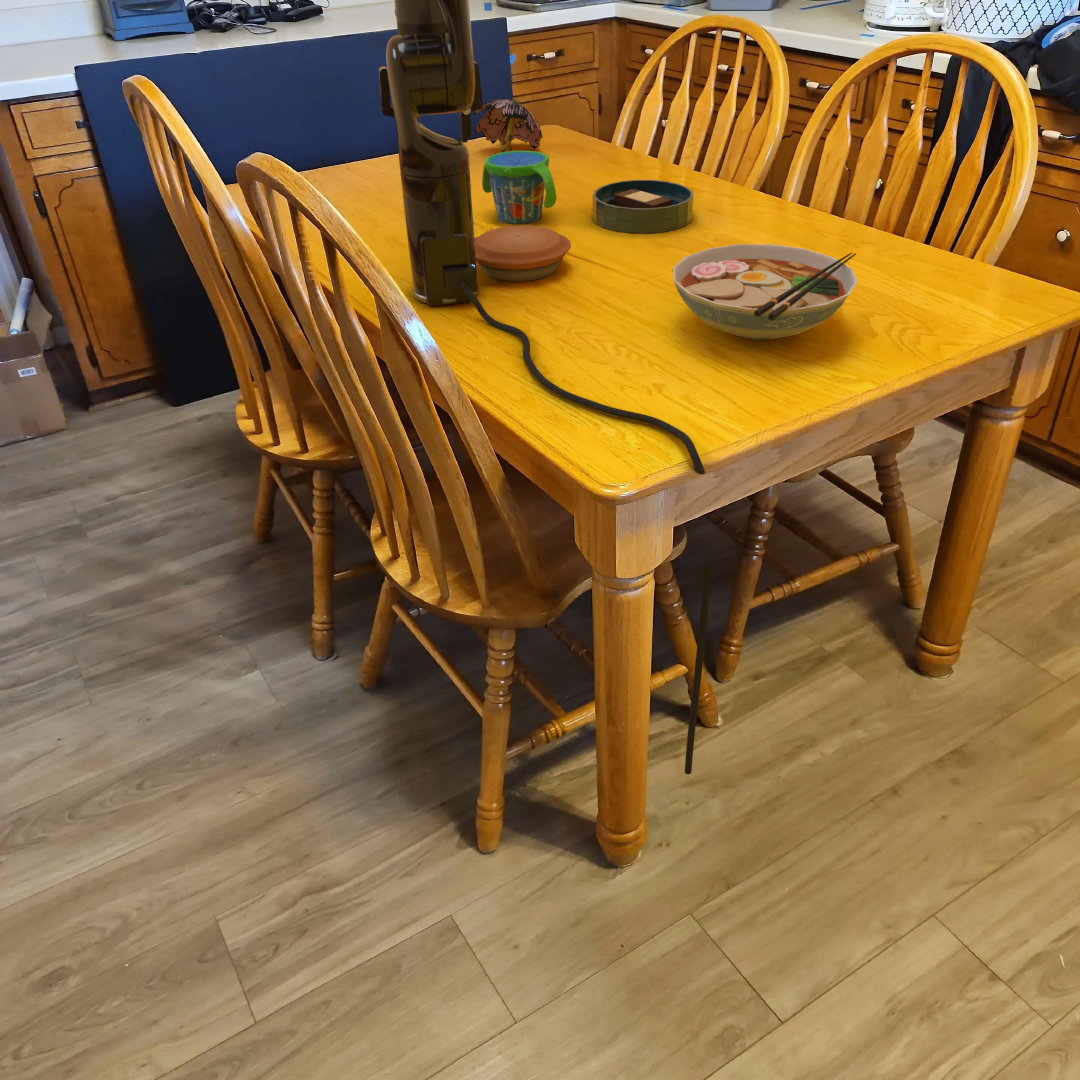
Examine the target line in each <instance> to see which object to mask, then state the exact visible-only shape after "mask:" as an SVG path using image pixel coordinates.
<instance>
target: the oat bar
mask: <svg viewBox="0 0 1080 1080" xmlns="http://www.w3.org/2000/svg"><path fill="white" fill-rule="evenodd" d="M671 204H672V200H671V199H668V198H664V197H661V196H657V195H654V194H650V193H646V192H643V191H639V190H635V189H631V190H627V191H624V192H621V193H617V194H615V197H614V206H618V207H626V208H659V207H667V206H671Z"/></svg>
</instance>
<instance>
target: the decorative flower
mask: <svg viewBox="0 0 1080 1080" xmlns="http://www.w3.org/2000/svg"><path fill="white" fill-rule="evenodd" d="M487 110H488V111H487ZM483 111H487V112H485V113H484V114H483V116H482V117H480V120H479V122H478V123H477V125H476V127H475V128H474V133H475V134H478V133H479V132H481V134H483V138H486V139H485V140H486V141H490V143H491V144H492V145H494V144H496V142H497V141H499V143H500V145H502V146H501V147H500V148H499V149H500V150H499V151H500V152H499V153H501V152H506V151H507V152H508V151H513V147H512V146H510V145H511V144H512V142H513V140H515V139H517V140H521V141H520V142H524V143H525V144H526V143H529V145H530V147H531V149H532V150H533V151H535V150H536V149H537V148H539V147H540V146H541V139H543V138H544V137H543V133H542V130H541V127H540V124H539V122H538V120H537V118H536V117H535V116H534V115H533V113H532V112H531V111H529V110H528V109H527V108H526V107H524V105H522V103H521V102H520V100H518V99H515V98H512V99H507V98H494V99H490V100H488V101H486V102H483V107H482V108H481V109H477V110H475V111H474V113H473V116H474V115H477V114H479V113H482V112H483Z"/></svg>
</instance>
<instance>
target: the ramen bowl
mask: <svg viewBox="0 0 1080 1080" xmlns="http://www.w3.org/2000/svg"><path fill="white" fill-rule="evenodd" d="M856 255H857V253H853V252H849V253H848V254H846V255H845V256H843V257H841V258H839V259H837V258H836V257H833V256H830V255H827V254H824V253H821V252H818V251H814V250H811V249H808V248H802V247H795V246H788V245H781V244H780V245H779V244H767V243H766V244H765V243H763V244H762V243H760V244H759V243H757V244H752V243H750V244H749V243H747V244H746V243H737V244H729V245H725V246H717V247H709V248H706V249H703V250H701V251H697V252H694V253H692V254H689V255H685V256H684V257H683V258H682V259H680V261H679V262H678V263H676V264H675V265H674V266H673V267H672V279H673V280H672V281H673V284H674V285H675V288H676V290H677V293H678V294H679V296H680V297H681V299H682V300H683V303H684V304H685V305H686V306H687V307H688V309H689V310H690V311H691V312H692V313H693V314H694V315H695V316H696V317H698V318H699V319H700V320H701V321H702V322H704V323H705V324H706V325H708V326H709V327H711V328H714V329H716V330H718V331H721V332H723V333H726V334H729V335H732V336H736V337H739V338H742V339H745V340H750V341H770V340H777V339H781V338H786V337H791V336H797V335H800V334H803V333H805V332H806V331H809V330H811V329H814V328H815V327H818V326H820V325H823V324H824V323H826V322H827V320H829V319H831V317H832V316H834V315H835V314H836V313H837V312H838V310H839V309H840V308H841V307H842V306H843V305H844V303H845V301H846V300H847V299H848V297H849V296H850V295H851V294H852V291H853V290H854V288H855V287H856V285H857V284H858V279H857V277H856V275H855V272H854V270H853V268H852V267H850V266H849V265H847V264H846V263H847V262H849V261H850V260H851V259H852V258H853V257H856Z"/></svg>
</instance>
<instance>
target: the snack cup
mask: <svg viewBox="0 0 1080 1080" xmlns="http://www.w3.org/2000/svg"><path fill="white" fill-rule="evenodd" d="M500 152H501V151H500ZM500 152H498V153H494V154H492V155H491V154H490V155H489V156H487V157H486V159H484V164H483V169H482V176H481V178H482V180H481V187H482V191H483V192H484V193H487V194H489V193H492V198H493V203H494V208H495V212H496V215H497V220H498V221H499V222H502V223H504V224H509V225H525V224H532V223H535V222H538V221H539V220H540V219H541V218H542V215H543V207H544V208H545V209H551V208H552V207H554V205H556V202H557V191H556V187H555V186H556V185H555V182H554V179H553V176H552V172H551V170H550V168H549V164H550V157H549V156H548V155H547V154H545V153H543V152H540V151H535V150H512V151H508V150H507V151H505V152H501V153H500Z"/></svg>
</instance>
